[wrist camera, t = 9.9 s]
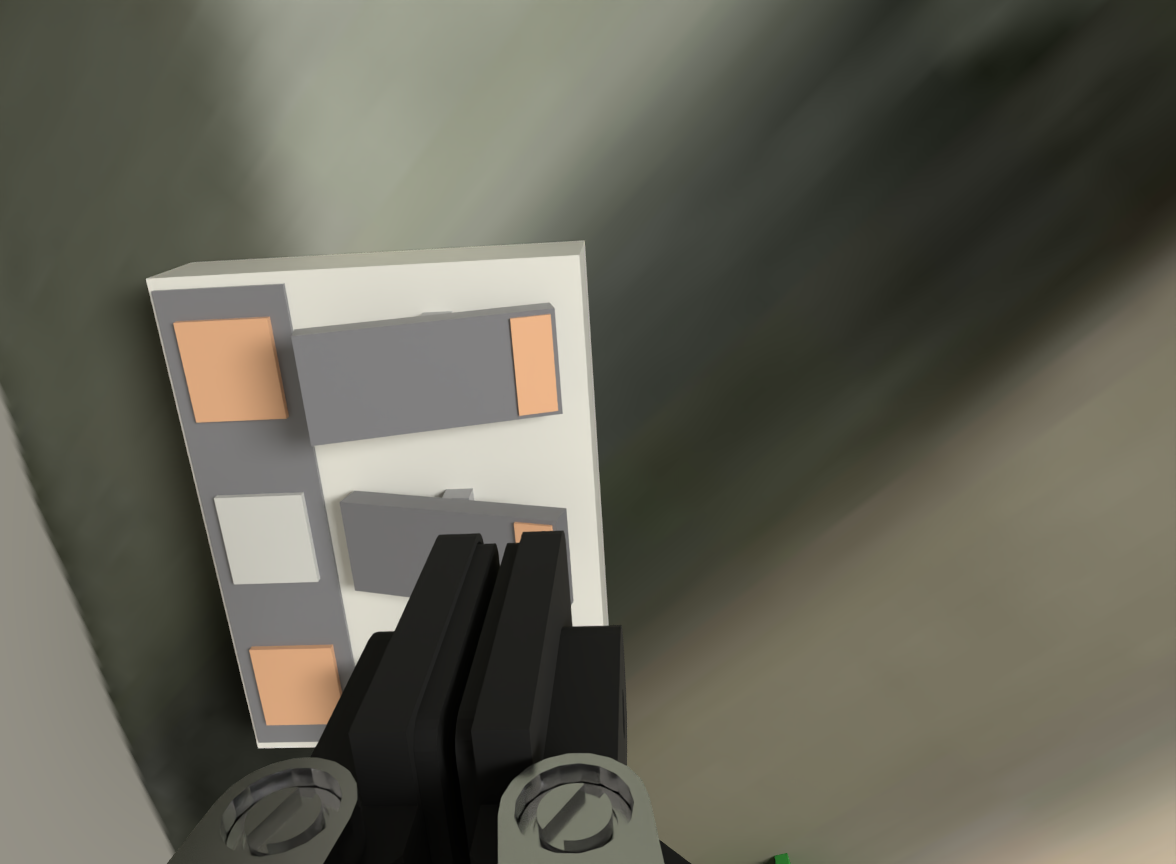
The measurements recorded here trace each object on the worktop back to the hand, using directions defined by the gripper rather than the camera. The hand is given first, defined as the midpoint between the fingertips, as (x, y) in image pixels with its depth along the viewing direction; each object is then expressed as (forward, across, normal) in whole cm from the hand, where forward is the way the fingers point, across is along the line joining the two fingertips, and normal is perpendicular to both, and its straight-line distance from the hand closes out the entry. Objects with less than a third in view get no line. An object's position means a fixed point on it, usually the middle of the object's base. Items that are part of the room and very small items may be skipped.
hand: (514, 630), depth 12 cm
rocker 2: (+23, +6, +11) cm, 26 cm away
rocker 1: (+23, +6, +3) cm, 24 cm away
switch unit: (+29, +10, +11) cm, 33 cm away
